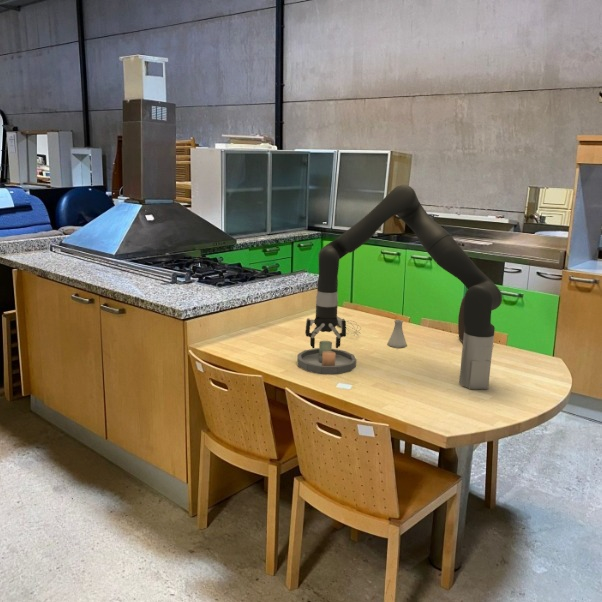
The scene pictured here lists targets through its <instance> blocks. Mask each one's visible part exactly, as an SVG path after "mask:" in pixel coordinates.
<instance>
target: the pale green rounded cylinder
mask: <svg viewBox="0 0 602 602" xmlns="http://www.w3.org/2000/svg"><path fill="white" fill-rule="evenodd" d="M318 345H319V346H318V348H319V356H320V355H322V352H324V351H331V350H332V349H333V347H332V346H333V342H332V341H330V340H320V341H319V344H318Z"/></svg>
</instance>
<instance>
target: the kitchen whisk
mask: <svg viewBox="0 0 602 602" xmlns="http://www.w3.org/2000/svg"><path fill="white" fill-rule="evenodd" d="M342 319H343V318H342V317H339V316H338V315H337V320H342ZM352 322H354V324H353V323H352ZM352 322H351V321H349V320H346V323H348V324H351V326H352V328H353V329H352V328H351V329H350V327H349V325H348V324H346V331H348V332H349V331H353V332H351V335H352V334H355V335H358V334H361V332H360V331H359V330H358V329H355V326H356V328H358V327H359V328H360V329H362V327H361V326H360V325H359V324H357V322H356V321H353V320H352ZM355 323H356V324H355ZM337 325H339V326H340V324H339V323H338V324H337ZM354 325H355V326H354ZM347 326H348V327H349V328H348V327H347ZM340 327H341V328H342V326H340ZM346 335H348V333H347V332H346Z"/></svg>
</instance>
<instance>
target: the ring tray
mask: <svg viewBox="0 0 602 602" xmlns="http://www.w3.org/2000/svg"><path fill="white" fill-rule="evenodd" d="M331 351H333V352H335V366H322V355H320V356H319V347H317V348H315V347H314V348H311V349H305V350H302V351H301V352H299V353H298V354H296V355H297V356H296V357H297V360H296V362H297V366H298V368H301V370H303V371H306V372H310V373H315V374H320V375H339V374H343V373H344V374H345V373H348V372H352V370H354V369H355V368H356V366H357V359H356V356H355V354H352V353H350V352H349V351H347V350H342V349H339V348H332V350H331Z"/></svg>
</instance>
